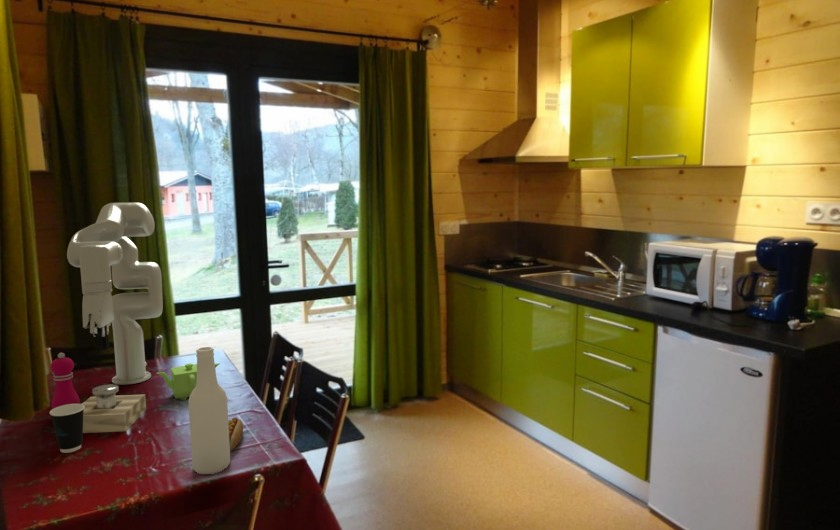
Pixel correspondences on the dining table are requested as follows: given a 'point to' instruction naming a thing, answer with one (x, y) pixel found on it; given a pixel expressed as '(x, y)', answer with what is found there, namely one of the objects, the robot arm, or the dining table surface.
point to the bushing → (105, 396)
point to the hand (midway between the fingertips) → (102, 349)
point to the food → (235, 432)
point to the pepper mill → (63, 382)
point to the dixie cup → (68, 426)
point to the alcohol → (208, 418)
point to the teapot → (182, 380)
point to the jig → (113, 414)
